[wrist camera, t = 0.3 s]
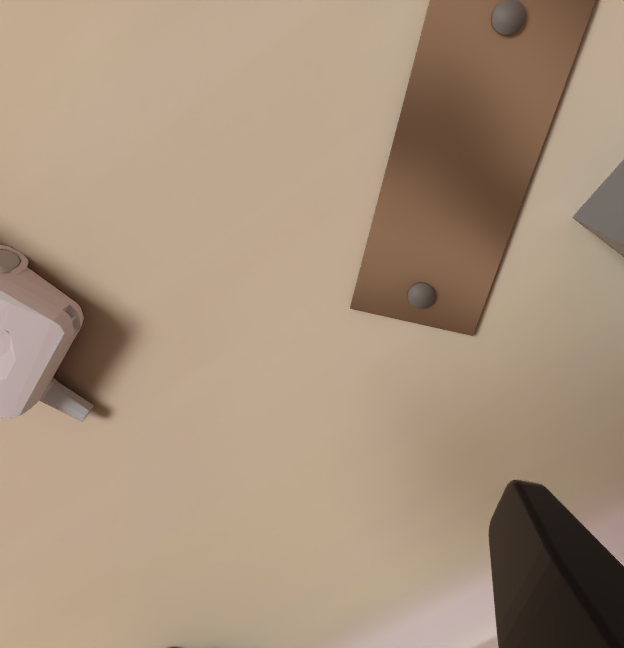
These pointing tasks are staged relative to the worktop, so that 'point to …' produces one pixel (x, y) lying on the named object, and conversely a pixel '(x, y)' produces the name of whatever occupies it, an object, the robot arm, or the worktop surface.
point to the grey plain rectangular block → (606, 211)
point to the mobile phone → (34, 340)
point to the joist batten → (465, 155)
